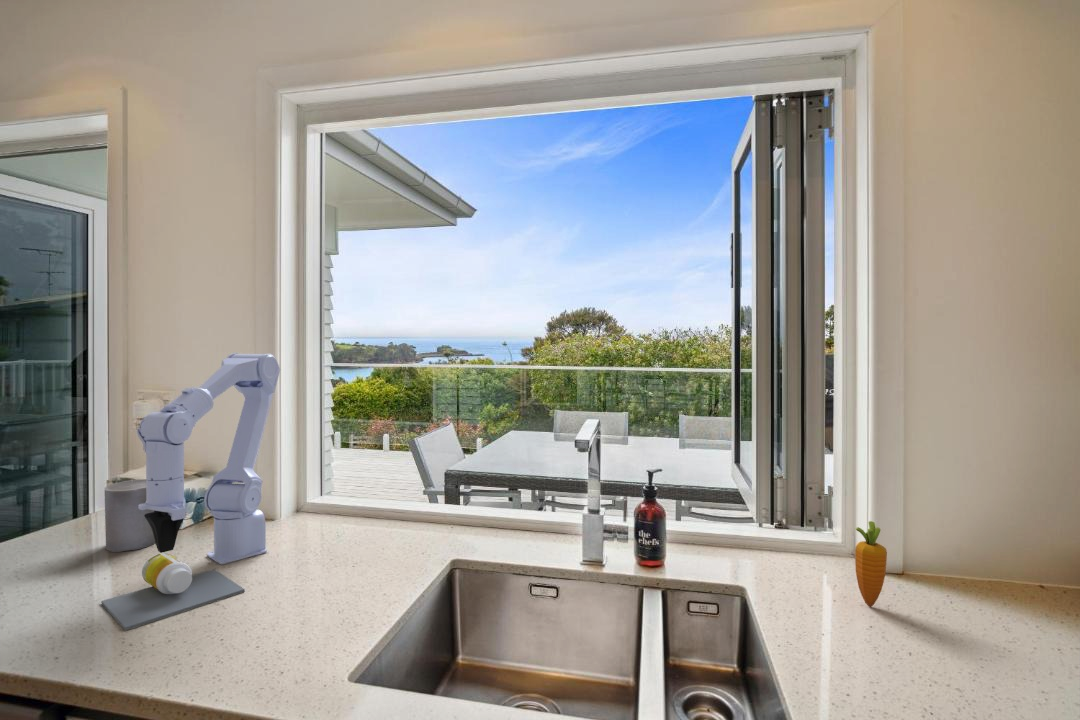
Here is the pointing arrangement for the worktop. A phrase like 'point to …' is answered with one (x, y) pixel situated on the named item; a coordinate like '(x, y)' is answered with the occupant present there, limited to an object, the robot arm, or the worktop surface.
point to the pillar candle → (127, 517)
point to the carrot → (870, 564)
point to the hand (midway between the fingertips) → (165, 550)
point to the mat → (169, 600)
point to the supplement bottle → (167, 573)
